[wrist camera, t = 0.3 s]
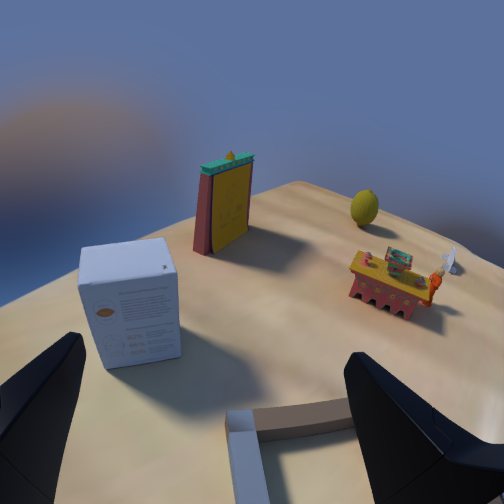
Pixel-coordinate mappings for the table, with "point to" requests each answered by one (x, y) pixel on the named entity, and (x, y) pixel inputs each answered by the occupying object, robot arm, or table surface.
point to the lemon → (364, 207)
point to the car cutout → (449, 261)
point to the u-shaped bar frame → (274, 438)
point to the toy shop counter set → (236, 223)
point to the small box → (131, 301)
